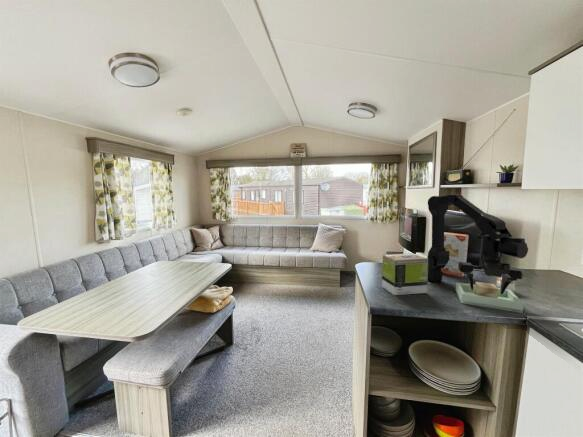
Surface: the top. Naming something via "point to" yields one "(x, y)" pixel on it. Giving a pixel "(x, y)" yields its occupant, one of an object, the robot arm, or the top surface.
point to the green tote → (489, 299)
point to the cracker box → (455, 252)
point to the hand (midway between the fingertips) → (486, 291)
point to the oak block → (486, 290)
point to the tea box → (405, 274)
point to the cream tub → (509, 287)
